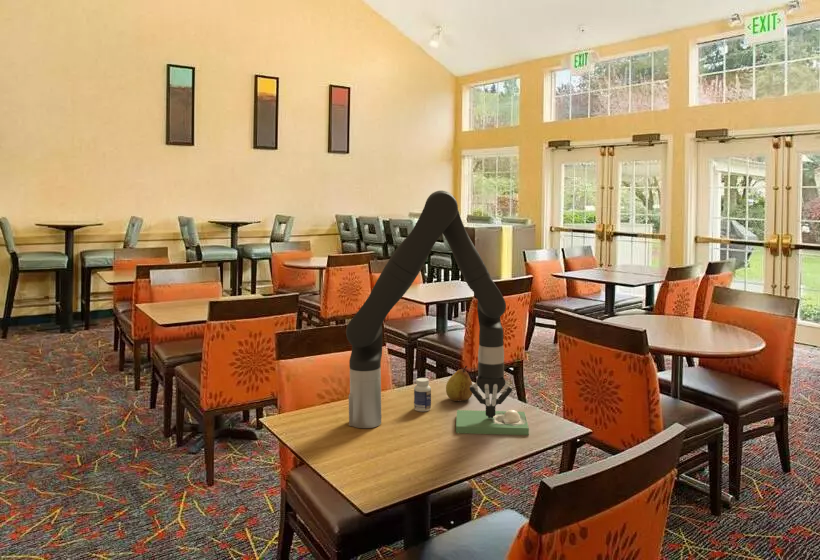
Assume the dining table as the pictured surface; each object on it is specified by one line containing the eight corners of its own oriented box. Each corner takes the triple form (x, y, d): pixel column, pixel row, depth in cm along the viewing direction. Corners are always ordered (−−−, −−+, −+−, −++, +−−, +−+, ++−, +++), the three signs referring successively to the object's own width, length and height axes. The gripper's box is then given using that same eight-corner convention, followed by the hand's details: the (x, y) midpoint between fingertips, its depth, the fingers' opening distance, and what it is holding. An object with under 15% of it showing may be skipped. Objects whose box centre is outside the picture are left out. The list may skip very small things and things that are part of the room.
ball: (510, 409, 183) (523, 419, 183) (509, 404, 187) (522, 413, 187) (500, 422, 183) (513, 432, 183) (499, 416, 188) (512, 426, 188)
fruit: (442, 397, 213) (442, 362, 212) (467, 394, 216) (467, 360, 214) (451, 405, 205) (451, 369, 203) (477, 402, 208) (477, 366, 206)
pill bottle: (429, 412, 198) (429, 382, 197) (412, 411, 199) (412, 381, 198) (432, 407, 203) (432, 377, 202) (416, 406, 204) (415, 376, 203)
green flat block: (456, 433, 180) (456, 426, 180) (456, 416, 194) (456, 410, 194) (529, 435, 178) (529, 428, 178) (524, 418, 192) (524, 411, 192)
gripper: (468, 362, 181) (467, 421, 183) (514, 363, 179) (514, 422, 182) (468, 356, 188) (467, 412, 190) (513, 357, 187) (512, 413, 189)
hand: (490, 417), depth 186 cm, fingers closed
